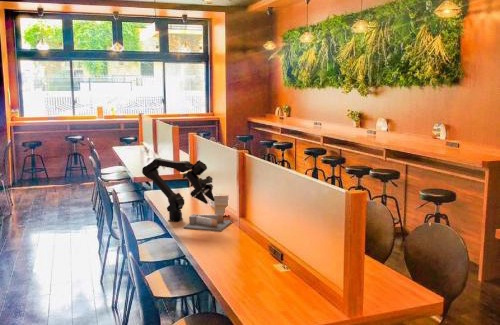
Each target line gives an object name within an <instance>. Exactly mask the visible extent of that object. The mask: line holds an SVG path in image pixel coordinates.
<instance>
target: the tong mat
mask: <svg viewBox="0 0 500 325" xmlns="http://www.w3.org/2000/svg"><path fill="white" fill-rule="evenodd" d="M196 216H199V214H197V213H195V214H191V215H190V216H188V217H189V218H188V220H189V222H188V223H187V224H185V226H183V229H184V230H185V229H186V230H195V231H207V232H218V233H219V232H222V231H224V229H226V228H227V227H228V226H230V225H231V224H232V223H233V222H232V221H231V220H232V219H224V222H217V227H213V226H208V225H202V224H197V223H196ZM231 222H232V223H231ZM230 223H231V224H230ZM229 224H230V225H229Z"/></svg>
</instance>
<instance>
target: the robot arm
mask: <svg viewBox="0 0 500 325" xmlns="http://www.w3.org/2000/svg"><path fill="white" fill-rule="evenodd" d="M160 167H164V168H170V169H173V170H176V171H177V172H179V173H183V174H182V179H183V180H184V179H187V180H188V183H190V187H192V188H194V189H192V191H191V192H190V194H189V195H190V196H191V197H192V198H194V199H196V200H198V201H200V202H202V203H204V204H205V205H207V204H208V203H209V202H208V200H207V198H208V199H209V200H210V201H212V202H214V201H215V200H214V194H213V190H214V186H213V184H212V183H213V177H212V176H210V175H208V176H205V177H206V178H204V179H203V178H200V177H199V176H201V175H202V174H203V173H204V172H205V171H207V170H208V167H207V164H206V163H204V162H203V161H201V160H200V159H199V160H197V161H196V162H195V163H191V162H190V161H189V160H181V161H175V160H170V159H164V158H161V157H157V158H155V159H153V160H152V161H151V162H150V163H148V164H147V165H145V166H143V167H142V170H141V173H142V175H143V176H144V177H146V179H149V180H151V181H152V182H153V183H154V184H155V185H156V186H157V188H158V189H159V190H160V191H161V192H162V193H163V195H164V196H165V197H166V198H167V201H168V204H169V205H168V206H167V207H166V210H167V212H168V216H169V217H168V218H169V219H168V222H172V223H173V222H174V223H175V222H176V223H178V222H180V221H182V220H183V219H184V218H183V213H182V209H183V208H184V205H185V199H184V196H183V195H181V193H180V192H177V193H175V191H173V189H171V187H170V186H169V185H168V184H167V182H165V181H164V179H163V178H162V177H161V176H160V175H159V170H158V169H159V168H160ZM206 197H207V198H206Z"/></svg>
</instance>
